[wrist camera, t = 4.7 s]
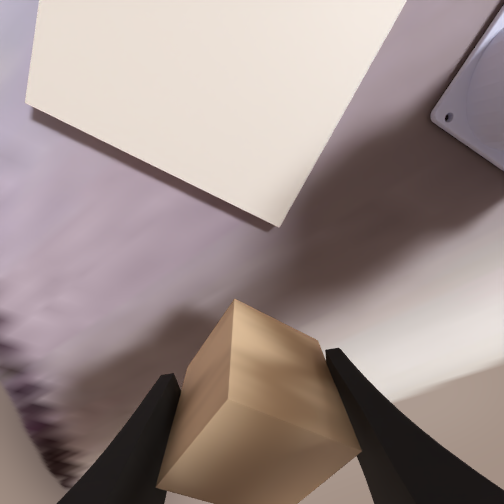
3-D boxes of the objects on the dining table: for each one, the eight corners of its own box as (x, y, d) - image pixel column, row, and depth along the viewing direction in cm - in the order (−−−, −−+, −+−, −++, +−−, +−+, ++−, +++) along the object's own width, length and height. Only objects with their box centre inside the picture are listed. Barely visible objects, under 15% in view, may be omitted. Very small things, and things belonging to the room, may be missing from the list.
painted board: (404, -7, 13) (417, -20, 12) (277, 223, 17) (279, 227, 16) (97, -255, 9) (81, -300, 9) (39, 106, 14) (25, 102, 13)
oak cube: (317, 340, 12) (362, 451, 8) (265, 398, 14) (276, 520, 9) (234, 298, 11) (227, 398, 7) (187, 367, 13) (155, 487, 8)
